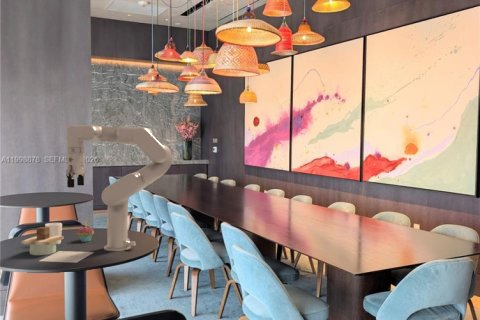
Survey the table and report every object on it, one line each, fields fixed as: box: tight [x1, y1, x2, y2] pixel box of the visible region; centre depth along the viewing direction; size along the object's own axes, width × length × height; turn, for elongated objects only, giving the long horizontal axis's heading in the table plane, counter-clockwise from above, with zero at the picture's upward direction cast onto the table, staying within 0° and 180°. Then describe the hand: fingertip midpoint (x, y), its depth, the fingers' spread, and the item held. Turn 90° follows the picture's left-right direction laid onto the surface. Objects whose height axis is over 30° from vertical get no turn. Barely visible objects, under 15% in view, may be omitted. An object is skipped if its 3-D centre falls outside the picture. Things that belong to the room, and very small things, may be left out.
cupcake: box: [76, 218, 95, 243], centre depth 219 cm, size 9×8×12 cm
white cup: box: [44, 222, 63, 245], centre depth 212 cm, size 8×8×10 cm
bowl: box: [29, 242, 57, 256], centre depth 194 cm, size 11×11×6 cm
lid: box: [20, 226, 65, 245], centre depth 194 cm, size 13×13×6 cm
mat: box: [39, 250, 95, 264], centre depth 187 cm, size 17×17×1 cm
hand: (75, 186), depth 202 cm, fingers open, 9 cm apart
